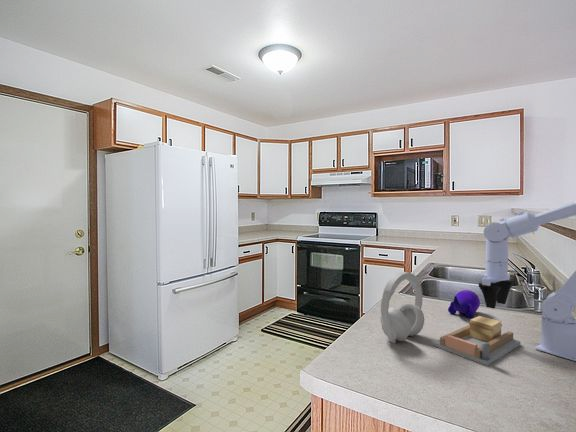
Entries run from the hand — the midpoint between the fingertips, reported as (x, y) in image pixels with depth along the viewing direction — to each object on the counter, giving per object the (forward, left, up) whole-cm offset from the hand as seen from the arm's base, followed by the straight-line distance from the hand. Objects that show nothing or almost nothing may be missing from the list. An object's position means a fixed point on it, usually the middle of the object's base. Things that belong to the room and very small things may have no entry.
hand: (496, 305), depth 97 cm
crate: (0, +7, -8) cm, 11 cm away
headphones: (+16, +25, -10) cm, 31 cm away
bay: (0, +12, -9) cm, 15 cm away
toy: (+16, -12, -10) cm, 22 cm away
